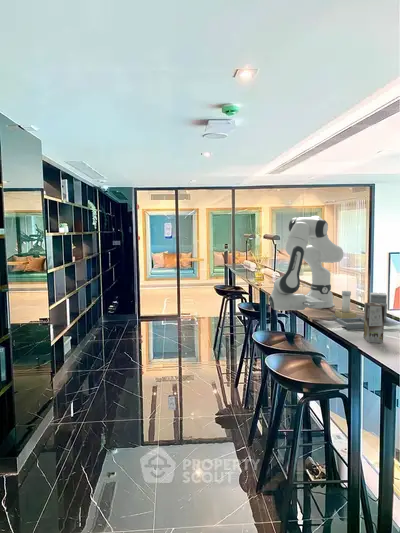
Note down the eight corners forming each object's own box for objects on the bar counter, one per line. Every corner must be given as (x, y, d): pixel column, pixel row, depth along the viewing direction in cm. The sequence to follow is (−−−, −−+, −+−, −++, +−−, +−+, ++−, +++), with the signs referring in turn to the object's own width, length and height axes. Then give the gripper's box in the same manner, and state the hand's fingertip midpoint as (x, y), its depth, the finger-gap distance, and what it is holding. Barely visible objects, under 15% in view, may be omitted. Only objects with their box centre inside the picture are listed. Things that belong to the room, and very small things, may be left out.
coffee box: (383, 343, 169) (385, 306, 168) (367, 342, 171) (369, 305, 169) (378, 337, 178) (379, 302, 177) (363, 337, 179) (364, 301, 178)
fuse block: (330, 317, 219) (330, 309, 219) (350, 317, 220) (350, 309, 220) (340, 322, 207) (340, 314, 207) (361, 322, 209) (362, 313, 208)
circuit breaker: (370, 325, 201) (371, 296, 200) (369, 319, 214) (370, 292, 213) (386, 326, 198) (387, 297, 197) (384, 320, 211) (385, 293, 210)
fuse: (339, 316, 216) (340, 290, 214) (347, 316, 216) (348, 290, 215) (343, 318, 211) (344, 292, 210) (351, 317, 212) (352, 292, 211)
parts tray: (335, 324, 204) (335, 318, 203) (361, 323, 205) (361, 317, 205) (346, 330, 192) (347, 323, 192) (373, 329, 194) (374, 323, 193)
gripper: (307, 299, 199) (333, 298, 201) (293, 293, 219) (317, 292, 221) (307, 311, 200) (333, 311, 201) (292, 304, 220) (316, 303, 222)
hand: (324, 301), depth 211 cm, fingers open, 8 cm apart
